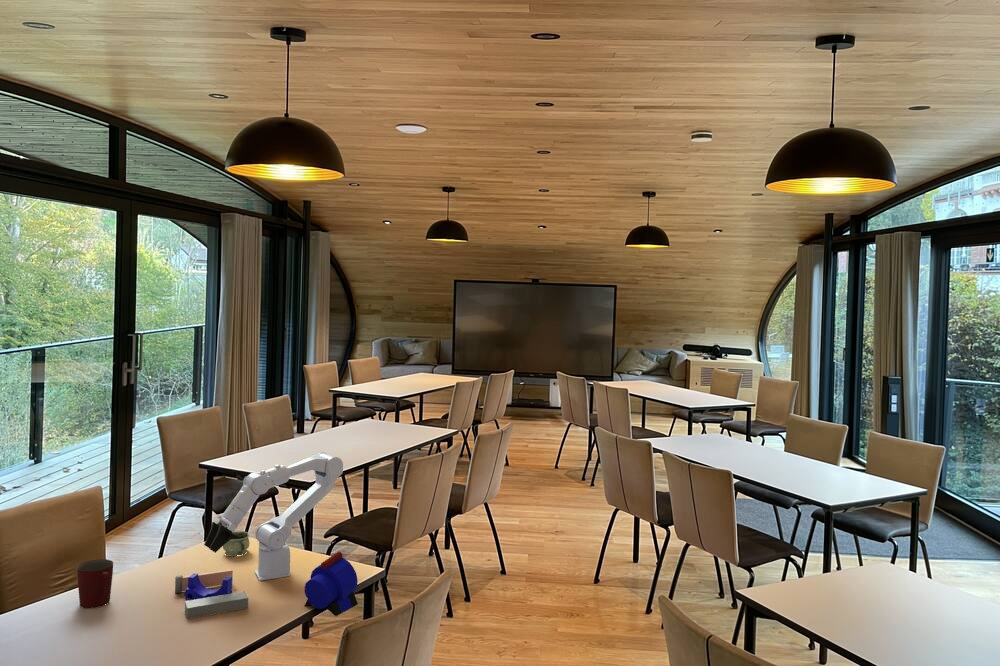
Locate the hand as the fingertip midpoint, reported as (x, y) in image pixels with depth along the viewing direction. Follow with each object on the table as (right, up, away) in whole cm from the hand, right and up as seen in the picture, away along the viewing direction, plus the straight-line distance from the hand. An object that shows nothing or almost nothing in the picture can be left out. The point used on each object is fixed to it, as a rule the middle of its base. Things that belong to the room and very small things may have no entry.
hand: (209, 548), depth 215 cm
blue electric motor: (+37, -15, -7) cm, 41 cm away
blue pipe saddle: (+1, -13, -4) cm, 14 cm away
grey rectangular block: (+7, -14, -12) cm, 19 cm away
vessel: (-4, -11, +32) cm, 34 cm away
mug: (-27, -12, -12) cm, 32 cm away
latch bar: (-2, -12, +2) cm, 13 cm away
